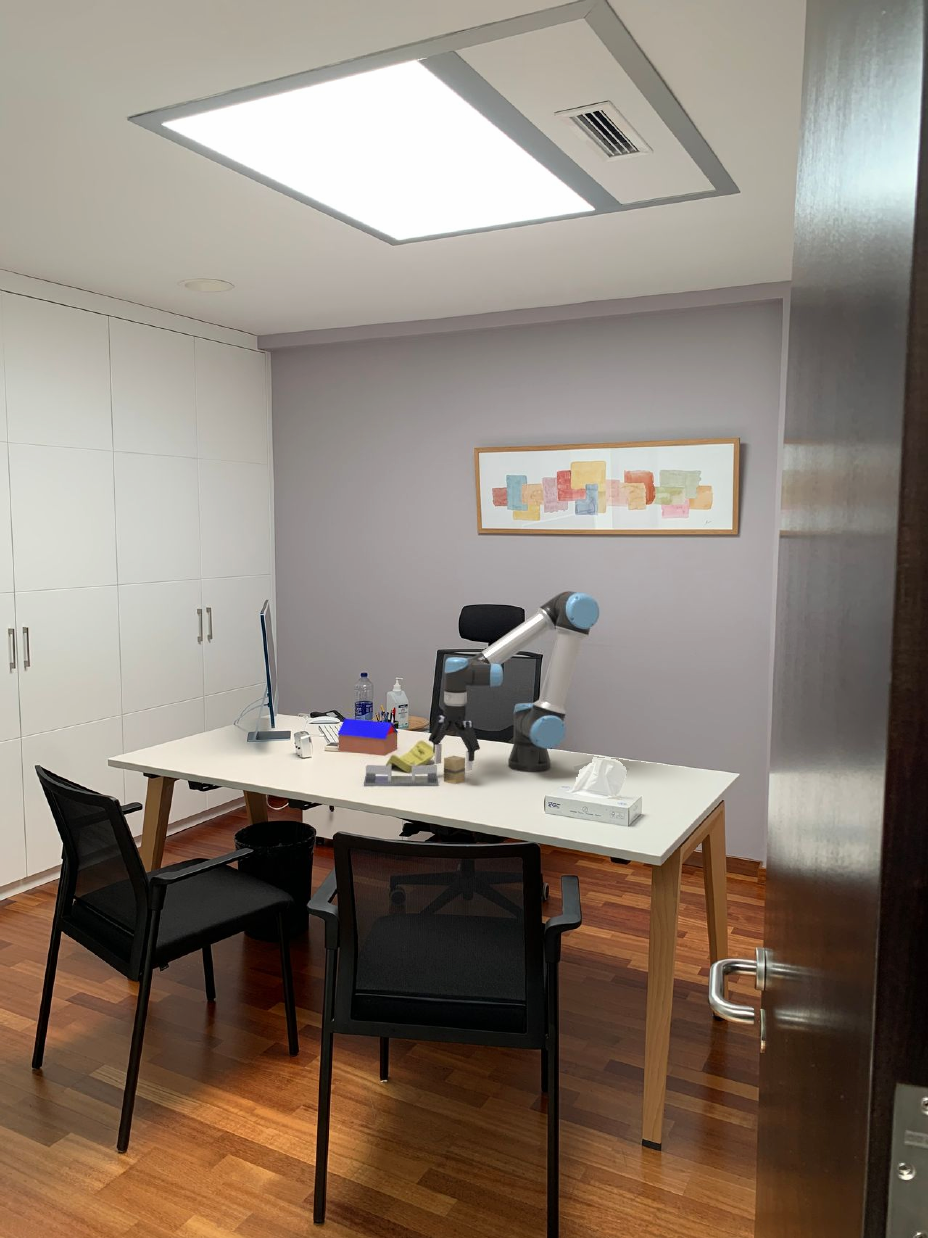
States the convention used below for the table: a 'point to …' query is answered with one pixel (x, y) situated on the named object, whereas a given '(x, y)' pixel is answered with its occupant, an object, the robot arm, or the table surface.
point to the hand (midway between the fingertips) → (453, 767)
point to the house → (367, 737)
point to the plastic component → (413, 757)
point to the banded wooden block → (454, 769)
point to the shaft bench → (401, 780)
